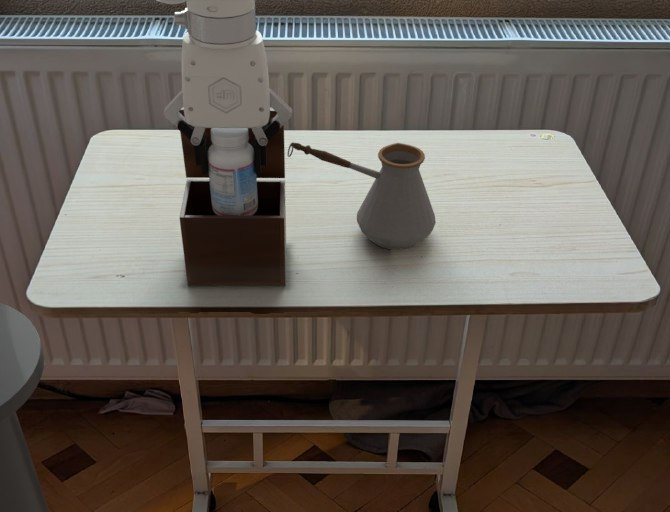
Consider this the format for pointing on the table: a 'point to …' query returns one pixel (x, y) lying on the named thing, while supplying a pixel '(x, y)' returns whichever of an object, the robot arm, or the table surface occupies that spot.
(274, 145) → the lid
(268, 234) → the chest
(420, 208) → the coffee pot
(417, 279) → the table surface
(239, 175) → the pill bottle
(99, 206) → the table surface
